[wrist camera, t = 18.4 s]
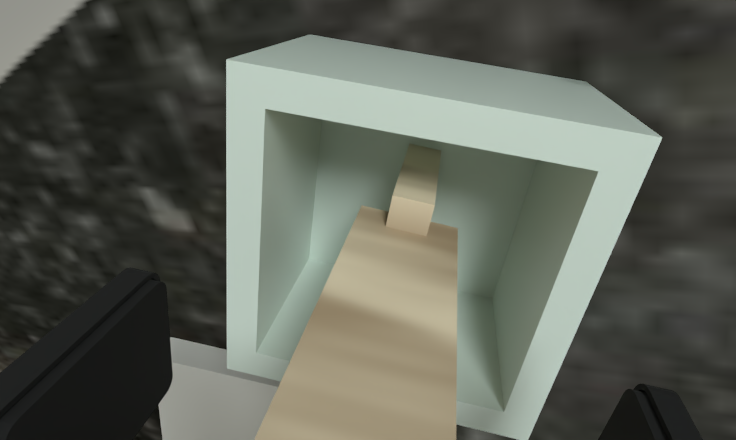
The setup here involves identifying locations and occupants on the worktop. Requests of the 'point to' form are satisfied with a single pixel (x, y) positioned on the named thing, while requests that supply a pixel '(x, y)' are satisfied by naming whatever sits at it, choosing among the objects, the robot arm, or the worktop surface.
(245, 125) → the holder
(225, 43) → the worktop surface
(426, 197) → the wooden block with tab
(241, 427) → the tile
